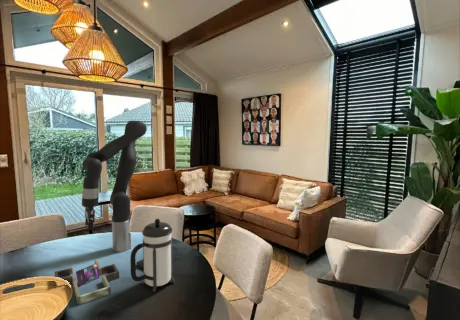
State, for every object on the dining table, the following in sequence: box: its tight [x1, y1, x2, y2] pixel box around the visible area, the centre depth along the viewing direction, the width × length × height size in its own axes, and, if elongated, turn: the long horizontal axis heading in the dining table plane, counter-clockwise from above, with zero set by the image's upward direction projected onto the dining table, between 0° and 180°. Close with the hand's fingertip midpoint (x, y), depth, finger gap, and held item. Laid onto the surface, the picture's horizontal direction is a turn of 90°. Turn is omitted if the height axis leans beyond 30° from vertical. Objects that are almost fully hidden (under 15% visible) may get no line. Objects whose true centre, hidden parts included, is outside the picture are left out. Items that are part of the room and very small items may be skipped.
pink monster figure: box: [75, 263, 100, 288], centre depth 118 cm, size 7×5×9 cm
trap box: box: [54, 258, 120, 305], centre depth 117 cm, size 24×30×3 cm
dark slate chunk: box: [136, 247, 181, 270], centre depth 137 cm, size 15×22×5 cm
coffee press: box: [130, 218, 176, 293], centre depth 114 cm, size 17×16×30 cm
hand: (88, 227), depth 134 cm, fingers open, 8 cm apart
